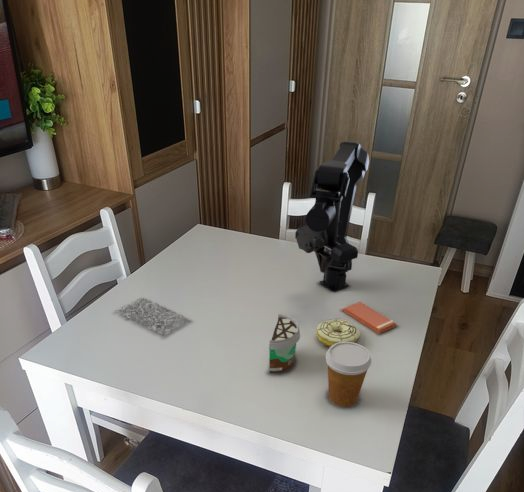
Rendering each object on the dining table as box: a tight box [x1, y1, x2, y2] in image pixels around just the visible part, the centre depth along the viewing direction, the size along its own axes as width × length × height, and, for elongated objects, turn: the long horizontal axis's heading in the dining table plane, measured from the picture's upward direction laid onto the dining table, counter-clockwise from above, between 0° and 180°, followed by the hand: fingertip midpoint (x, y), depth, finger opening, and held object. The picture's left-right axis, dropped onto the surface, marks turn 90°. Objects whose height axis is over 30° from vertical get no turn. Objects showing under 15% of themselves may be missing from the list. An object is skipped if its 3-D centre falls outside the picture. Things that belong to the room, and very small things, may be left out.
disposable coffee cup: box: [325, 342, 373, 408], centre depth 103 cm, size 10×10×12 cm
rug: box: [114, 297, 190, 336], centre depth 133 cm, size 10×20×1 cm, turn 52°
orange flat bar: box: [342, 301, 397, 335], centre depth 133 cm, size 14×6×1 cm, turn 35°
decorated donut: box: [316, 318, 360, 348], centre depth 124 cm, size 10×11×4 cm
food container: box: [268, 313, 301, 374], centre depth 114 cm, size 12×6×10 cm, turn 168°
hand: (323, 271), depth 131 cm, fingers closed
